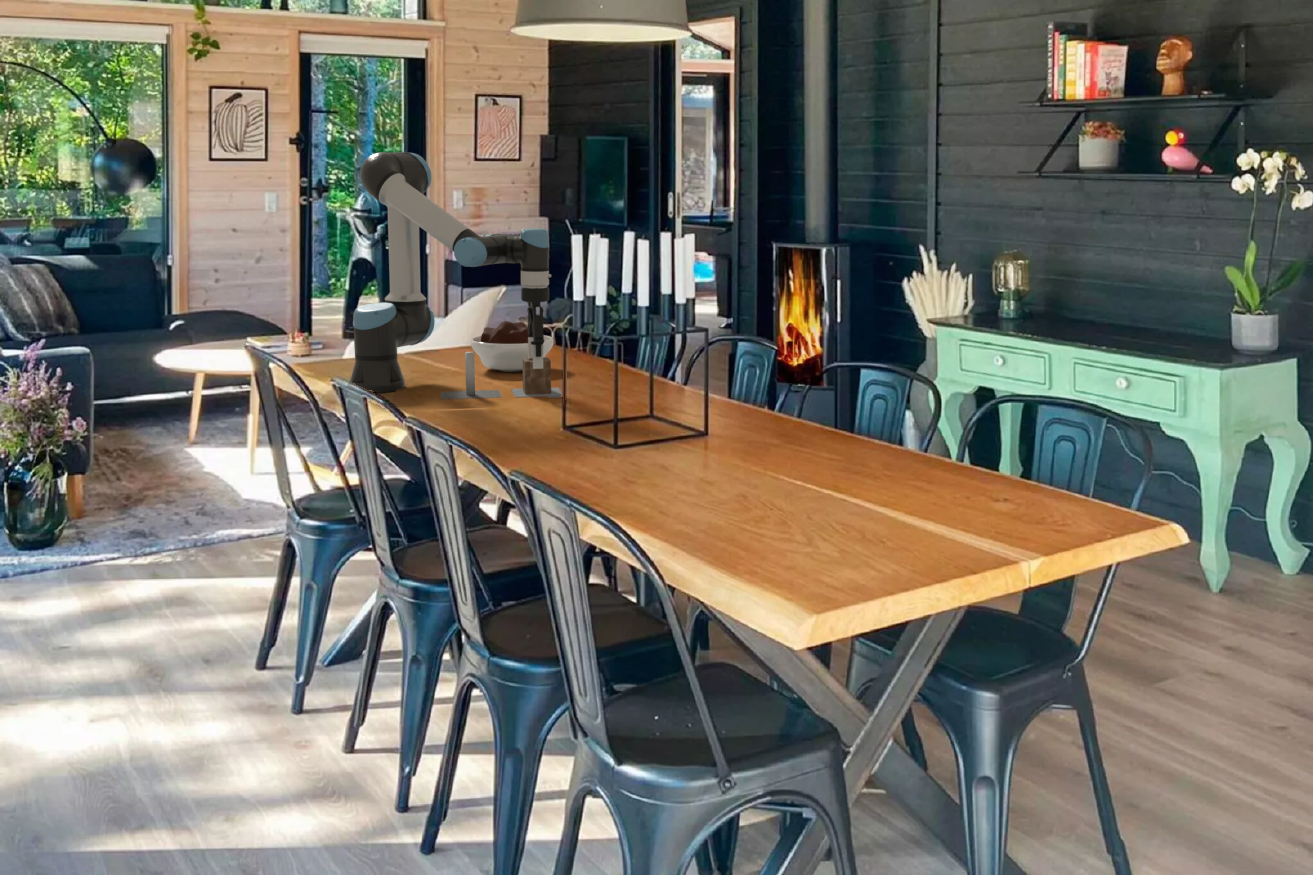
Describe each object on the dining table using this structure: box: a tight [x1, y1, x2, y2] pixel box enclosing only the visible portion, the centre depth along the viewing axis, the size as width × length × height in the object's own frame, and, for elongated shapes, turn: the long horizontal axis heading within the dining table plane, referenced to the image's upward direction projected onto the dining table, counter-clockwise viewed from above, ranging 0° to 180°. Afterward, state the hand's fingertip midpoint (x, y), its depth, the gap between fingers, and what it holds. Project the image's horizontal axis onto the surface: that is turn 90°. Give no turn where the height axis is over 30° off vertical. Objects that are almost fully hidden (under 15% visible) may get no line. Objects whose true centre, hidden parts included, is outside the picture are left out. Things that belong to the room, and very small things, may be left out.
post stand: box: [440, 351, 503, 400], centre depth 381 cm, size 16×12×12 cm
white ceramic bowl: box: [470, 320, 554, 373], centre depth 427 cm, size 25×25×15 cm
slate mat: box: [511, 387, 563, 399], centre depth 386 cm, size 13×13×1 cm
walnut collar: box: [522, 356, 552, 395], centre depth 385 cm, size 7×7×9 cm
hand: (535, 364), depth 384 cm, fingers open, 13 cm apart
